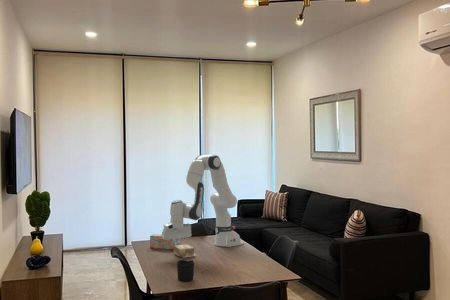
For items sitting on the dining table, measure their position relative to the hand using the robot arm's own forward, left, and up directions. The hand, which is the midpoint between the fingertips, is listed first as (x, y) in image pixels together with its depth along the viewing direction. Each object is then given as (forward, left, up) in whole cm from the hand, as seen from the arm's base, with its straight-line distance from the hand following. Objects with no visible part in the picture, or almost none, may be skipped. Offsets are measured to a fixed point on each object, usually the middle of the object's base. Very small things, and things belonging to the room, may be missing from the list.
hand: (177, 244), depth 293 cm
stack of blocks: (-2, -26, -8) cm, 27 cm away
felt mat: (-6, 0, -8) cm, 10 cm away
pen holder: (+16, +50, -8) cm, 53 cm away
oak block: (0, 0, -4) cm, 4 cm away
